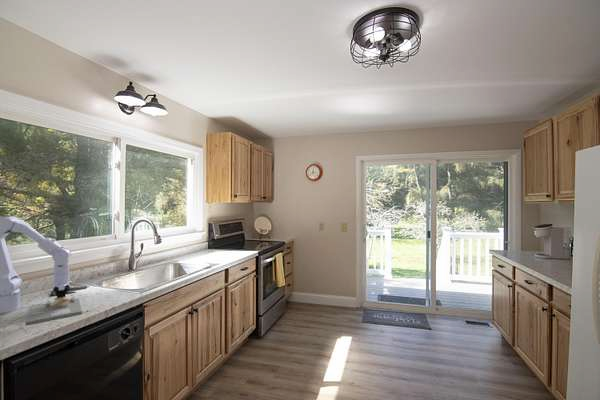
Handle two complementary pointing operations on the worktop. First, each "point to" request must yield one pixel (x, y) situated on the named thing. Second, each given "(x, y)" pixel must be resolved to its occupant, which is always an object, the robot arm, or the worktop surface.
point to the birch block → (60, 302)
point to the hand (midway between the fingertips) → (61, 301)
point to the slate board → (45, 310)
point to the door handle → (68, 290)
